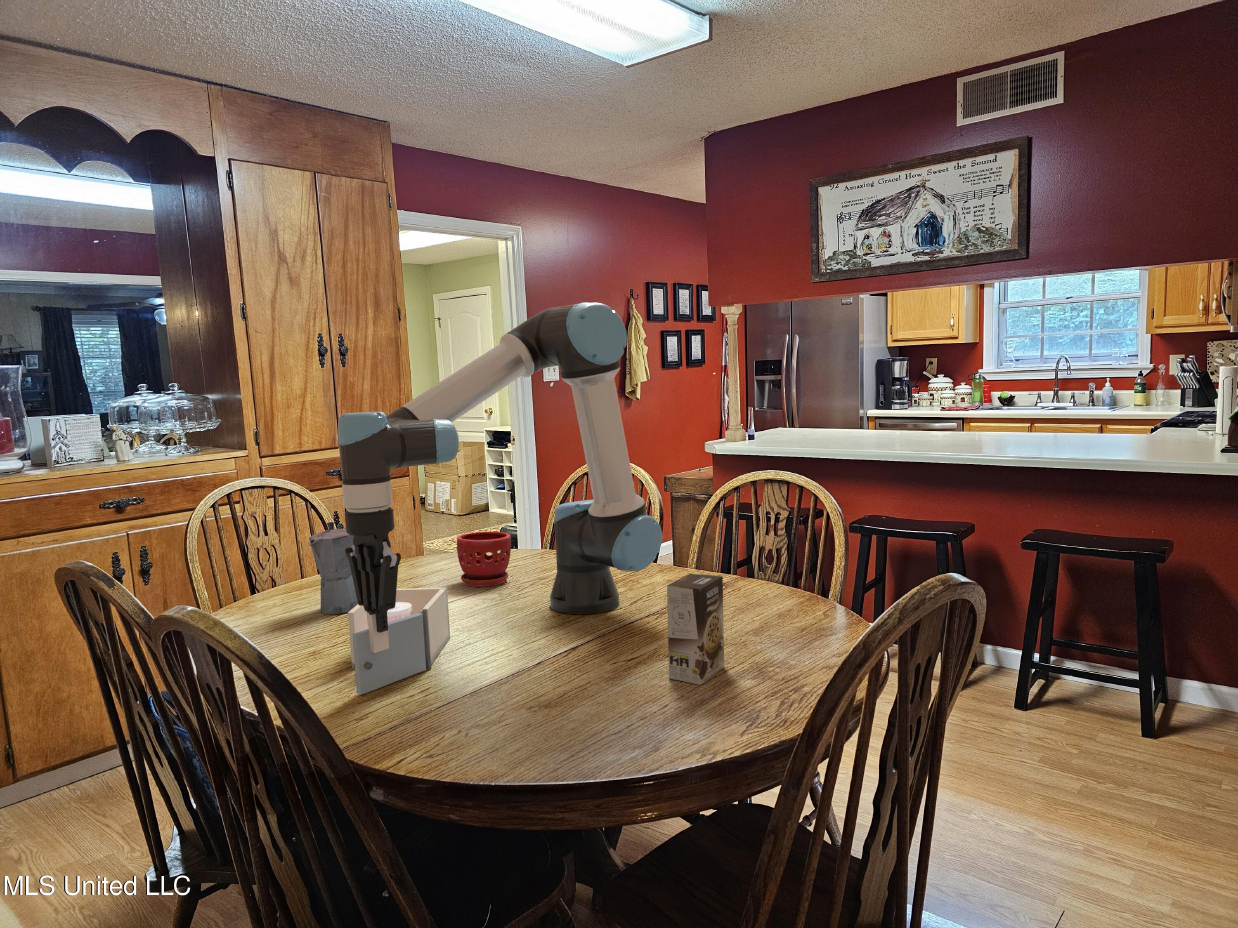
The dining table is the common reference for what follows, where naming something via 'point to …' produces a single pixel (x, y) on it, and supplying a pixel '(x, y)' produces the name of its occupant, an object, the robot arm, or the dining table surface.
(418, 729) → the dining table surface
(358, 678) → the door
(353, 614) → the cubby
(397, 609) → the beverage cup
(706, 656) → the coffee box
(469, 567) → the plant pot
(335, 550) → the moka pot
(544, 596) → the dining table surface
